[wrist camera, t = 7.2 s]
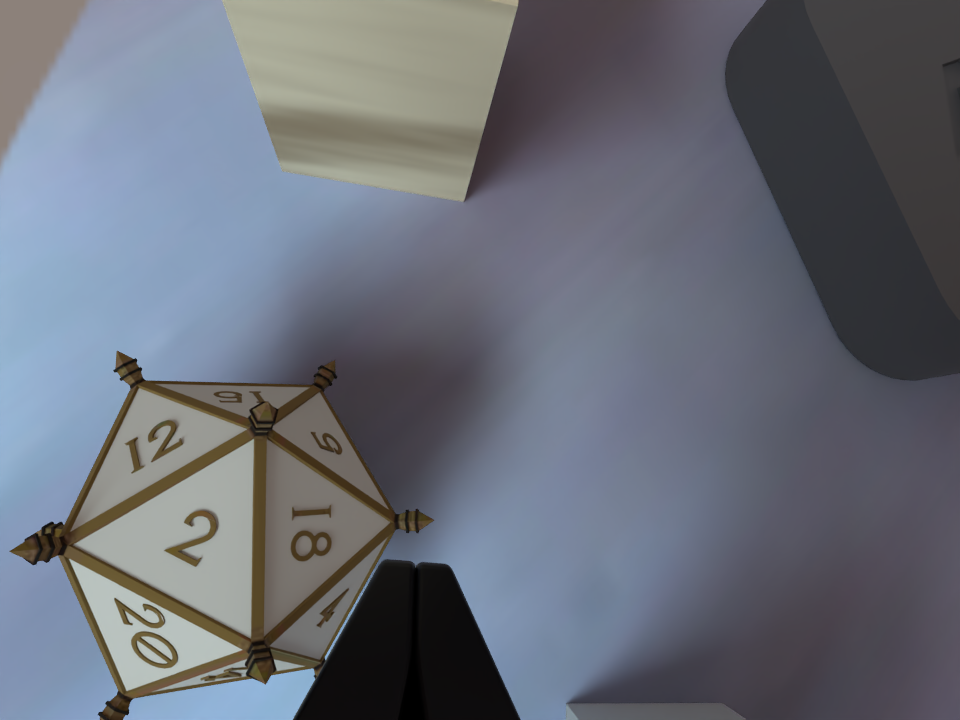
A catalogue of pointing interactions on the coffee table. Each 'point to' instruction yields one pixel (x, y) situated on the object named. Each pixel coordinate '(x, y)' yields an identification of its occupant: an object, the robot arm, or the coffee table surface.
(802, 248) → the streaming box
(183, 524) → the game die
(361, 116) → the plain birch block
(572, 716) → the grey dotted block
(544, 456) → the coffee table surface
